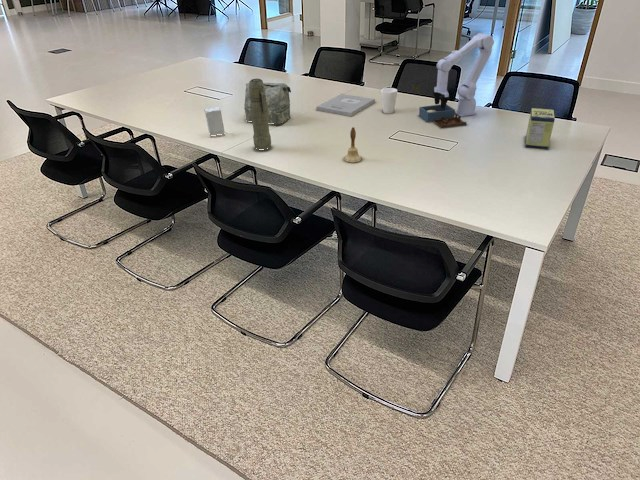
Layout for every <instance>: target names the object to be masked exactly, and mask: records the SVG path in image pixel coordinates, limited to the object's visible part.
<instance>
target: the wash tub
mask: <svg viewBox="0 0 640 480" xmlns="http://www.w3.org/2000/svg"><path fill="white" fill-rule="evenodd" d="M428 110H435V111H438V112H430V113H429V112H427V111H428ZM455 111H456V109H454V108H453V107H451V106H450V105H448V104H447V103H446V106H445V108H441V104H433V105H425V106H419V112H418V117H420V118H422V120H423V121H425V122H426V123H432V122H433V123H434V121H435V120H437V119H442V117H443V116H444V119H445V118H453V117H455V114H456V113H455Z"/></svg>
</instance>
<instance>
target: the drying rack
mask: <svg viewBox="0 0 640 480" xmlns="http://www.w3.org/2000/svg"><path fill="white" fill-rule="evenodd" d="M467 122H468V121H464V120H462V116H459V115H458V114H456V113H455V115H454V117H453V118H445V119H444V116H443V117H442V119H437V120H435V121H433V123H434V124H435V125H436V126H438V127H439V128H440V129H445V128H446V129H447V128H454V127H462V126H467Z"/></svg>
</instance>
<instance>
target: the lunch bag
mask: <svg viewBox="0 0 640 480" xmlns="http://www.w3.org/2000/svg"><path fill="white" fill-rule="evenodd" d="M249 83H250V81H248V82H247V83H245V93H244V94H245V95H244V106H243V107H244V108H243V109H244V114H245V121H246V120H247V121H246V122H247V123H249V122H248V121H252V117H251V113H250V93H249ZM263 83H264V87H265V95H266V102H267V105H268V123H274V124H273V125H275V126H276V125H281V124H280V123H282V124H284V123H286V122H287V121H288V120H290V119H291V98H290V93H292V90H291V87H290V86H288V84H287V83H286V82H282V83H281V82H280V83H279V82H277V83H276V82H263ZM289 117H290V118H289ZM288 118H289V119H288ZM287 119H288V120H287ZM284 121H285V122H284ZM283 122H284V123H283ZM250 123H252V124H253V122H250Z"/></svg>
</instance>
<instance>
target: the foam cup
mask: <svg viewBox="0 0 640 480" xmlns="http://www.w3.org/2000/svg"><path fill="white" fill-rule="evenodd" d="M380 95H381V102H382V104H381V105H382V113H384V114H394V112H395V107H396V101H397V96H398V89H397V88H394V87H384V88H381V92H380Z"/></svg>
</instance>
